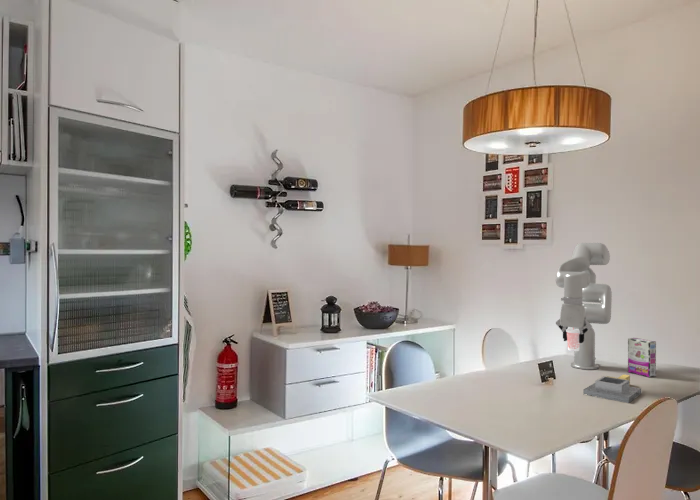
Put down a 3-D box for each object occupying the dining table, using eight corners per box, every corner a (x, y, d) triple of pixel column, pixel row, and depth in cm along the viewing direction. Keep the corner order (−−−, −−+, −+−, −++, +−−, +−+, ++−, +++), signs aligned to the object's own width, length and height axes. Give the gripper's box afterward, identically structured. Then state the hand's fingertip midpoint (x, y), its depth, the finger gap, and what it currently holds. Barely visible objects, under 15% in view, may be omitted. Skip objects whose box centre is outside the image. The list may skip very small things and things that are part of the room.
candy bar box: (656, 376, 239) (656, 341, 239) (649, 377, 237) (649, 342, 237) (634, 371, 249) (634, 337, 249) (627, 372, 247) (627, 338, 247)
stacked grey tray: (597, 385, 225) (597, 373, 225) (641, 393, 213) (641, 380, 213) (583, 394, 213) (583, 381, 212) (628, 403, 201) (628, 388, 201)
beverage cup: (568, 347, 234) (568, 317, 234) (582, 349, 230) (582, 318, 230) (564, 350, 229) (564, 319, 229) (578, 352, 225) (578, 320, 225)
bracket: (616, 382, 229) (616, 370, 229) (636, 386, 224) (636, 373, 224) (606, 389, 219) (606, 376, 219) (626, 393, 214) (626, 379, 214)
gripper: (550, 300, 232) (550, 340, 233) (590, 303, 220) (590, 345, 221) (557, 298, 238) (557, 337, 238) (596, 301, 226) (596, 342, 226)
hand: (573, 341), depth 230 cm, fingers closed on beverage cup, 6 cm apart
